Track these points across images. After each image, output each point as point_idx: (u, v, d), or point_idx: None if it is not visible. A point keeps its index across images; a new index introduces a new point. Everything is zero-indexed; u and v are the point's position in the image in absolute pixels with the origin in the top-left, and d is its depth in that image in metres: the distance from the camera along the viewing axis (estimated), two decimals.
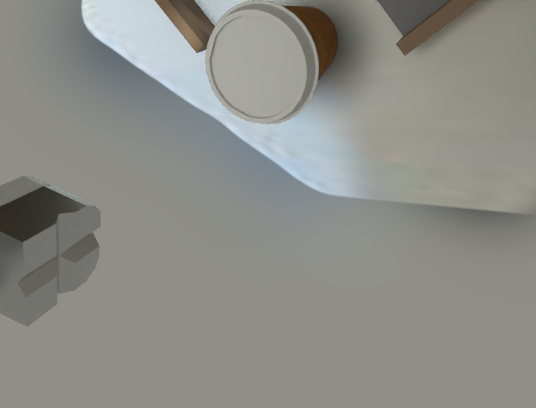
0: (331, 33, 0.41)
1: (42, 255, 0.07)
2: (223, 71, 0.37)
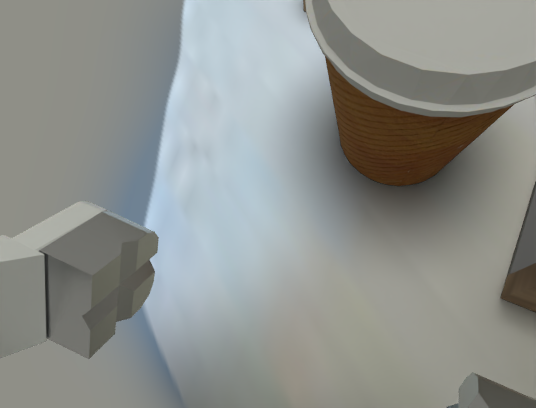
0: None
1: (107, 286, 0.07)
2: None
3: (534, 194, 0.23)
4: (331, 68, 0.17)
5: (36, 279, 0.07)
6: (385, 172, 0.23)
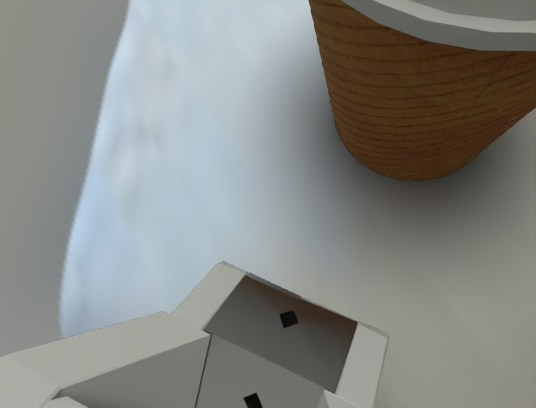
0: None
1: None
2: None
3: None
4: None
5: (198, 360, 0.06)
6: (396, 161, 0.16)
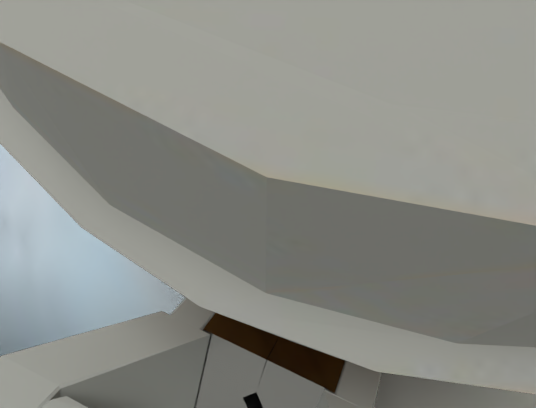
0: None
1: None
2: None
3: None
4: None
5: (198, 360, 0.06)
6: None
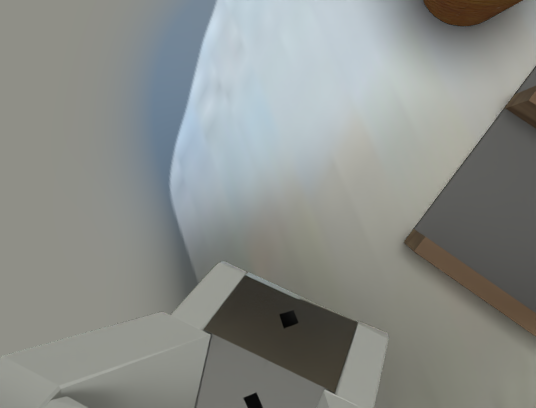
0: (499, 12, 0.30)
1: None
2: None
3: (452, 179, 0.33)
4: None
5: (198, 360, 0.06)
6: (442, 10, 0.30)
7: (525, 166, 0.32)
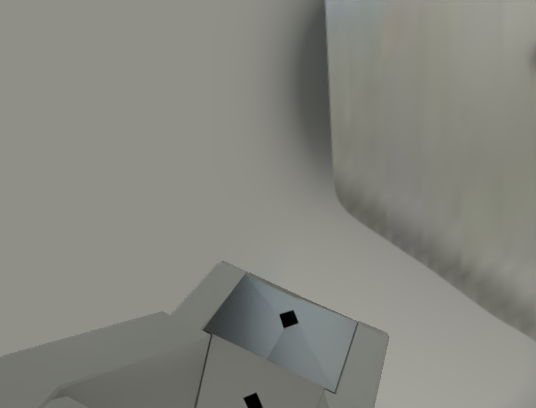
0: None
1: None
2: None
3: None
4: None
5: (198, 360, 0.06)
6: None
7: None
